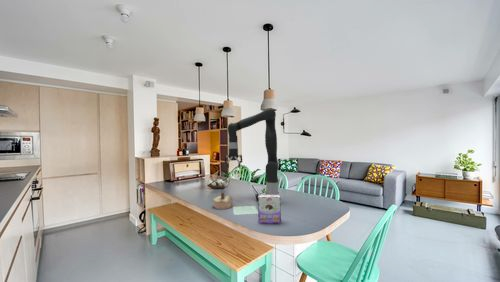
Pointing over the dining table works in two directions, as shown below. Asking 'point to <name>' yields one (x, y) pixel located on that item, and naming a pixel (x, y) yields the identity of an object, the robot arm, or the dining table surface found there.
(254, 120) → the robot arm
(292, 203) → the dining table surface
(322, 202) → the dining table surface
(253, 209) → the mat
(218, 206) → the bowl
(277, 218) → the candy box
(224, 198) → the lid
